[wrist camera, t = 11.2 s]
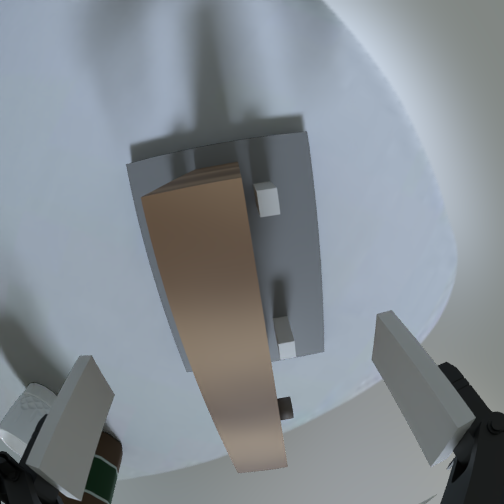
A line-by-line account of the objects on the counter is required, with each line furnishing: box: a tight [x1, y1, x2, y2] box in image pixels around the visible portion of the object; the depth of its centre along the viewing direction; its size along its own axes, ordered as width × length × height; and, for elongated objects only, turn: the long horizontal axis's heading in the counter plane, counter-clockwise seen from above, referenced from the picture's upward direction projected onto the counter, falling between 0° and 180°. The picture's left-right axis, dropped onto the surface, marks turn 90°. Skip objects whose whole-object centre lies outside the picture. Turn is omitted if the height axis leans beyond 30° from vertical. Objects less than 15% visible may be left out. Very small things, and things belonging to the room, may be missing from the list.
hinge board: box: [126, 132, 324, 372], centre depth 21 cm, size 19×13×5 cm
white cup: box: [0, 383, 57, 457], centre depth 24 cm, size 8×8×10 cm
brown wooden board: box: [141, 162, 294, 473], centre depth 16 cm, size 16×4×12 cm, turn 9°
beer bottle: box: [58, 431, 123, 504], centre depth 20 cm, size 8×8×24 cm
